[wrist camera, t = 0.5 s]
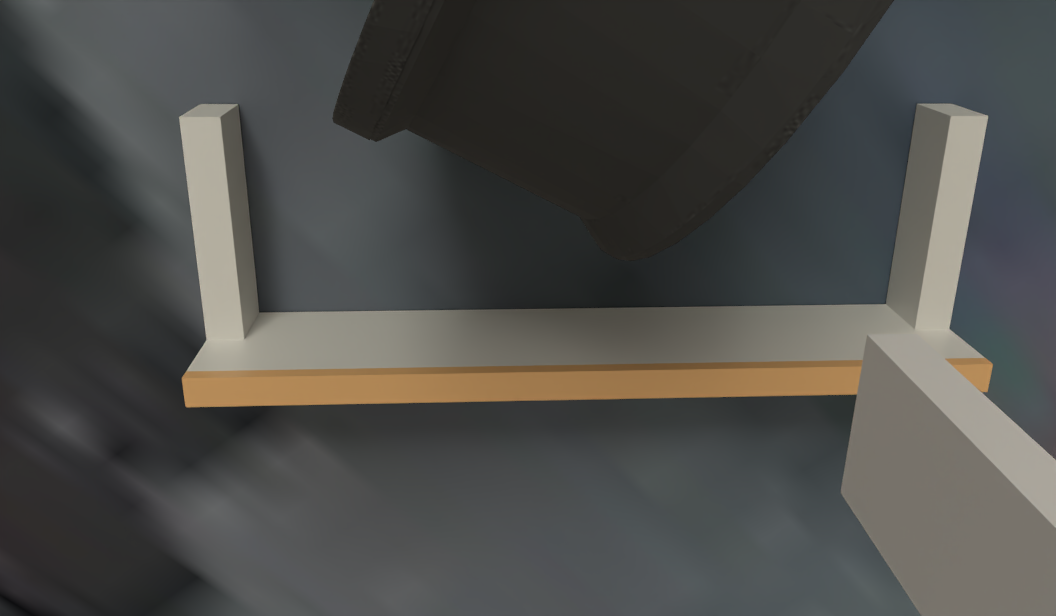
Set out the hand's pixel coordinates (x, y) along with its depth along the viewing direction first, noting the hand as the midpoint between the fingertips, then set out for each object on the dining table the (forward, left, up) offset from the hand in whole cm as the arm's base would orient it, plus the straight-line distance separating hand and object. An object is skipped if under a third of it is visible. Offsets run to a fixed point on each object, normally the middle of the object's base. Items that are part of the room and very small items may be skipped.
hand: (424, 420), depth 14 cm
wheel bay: (+5, +5, -27) cm, 28 cm away
